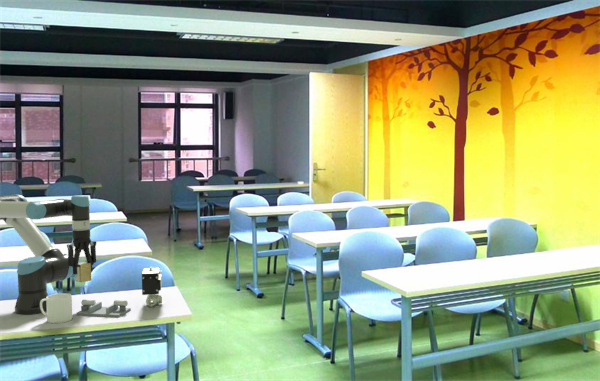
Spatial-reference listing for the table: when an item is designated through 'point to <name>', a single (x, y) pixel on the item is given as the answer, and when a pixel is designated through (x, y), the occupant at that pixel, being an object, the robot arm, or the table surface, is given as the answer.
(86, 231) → the robot arm
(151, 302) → the ball valve
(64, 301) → the mug
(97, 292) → the table surface
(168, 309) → the table surface
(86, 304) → the shaft rig
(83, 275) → the coupling block
